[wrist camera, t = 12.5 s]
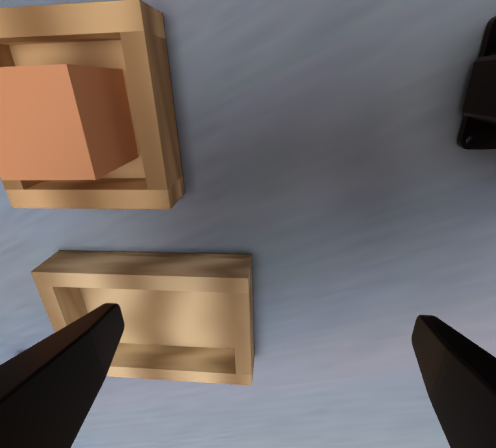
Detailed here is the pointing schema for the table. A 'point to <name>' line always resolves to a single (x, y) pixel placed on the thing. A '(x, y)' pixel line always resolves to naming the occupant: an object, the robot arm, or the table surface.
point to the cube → (64, 122)
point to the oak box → (138, 91)
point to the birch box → (161, 310)
